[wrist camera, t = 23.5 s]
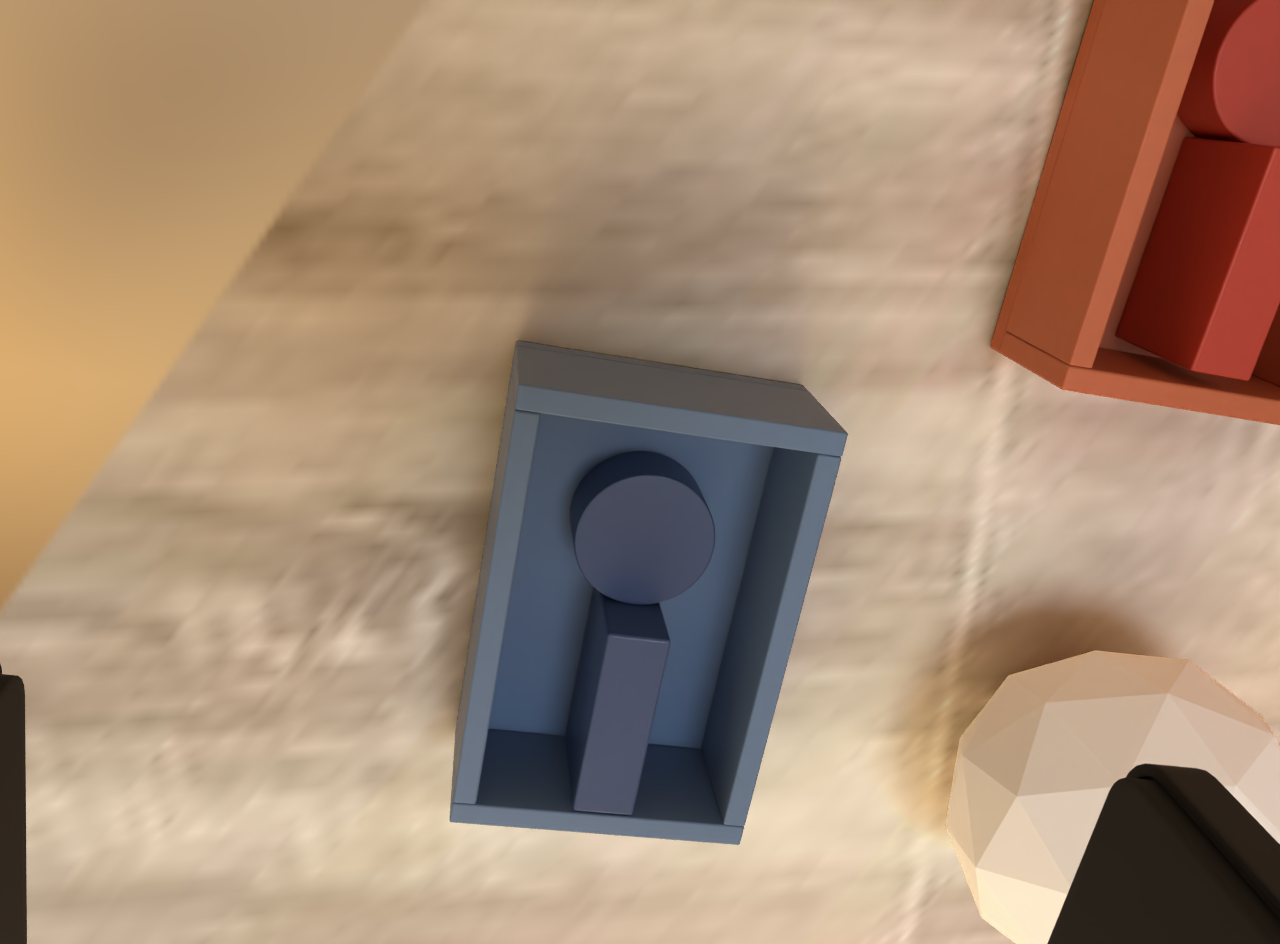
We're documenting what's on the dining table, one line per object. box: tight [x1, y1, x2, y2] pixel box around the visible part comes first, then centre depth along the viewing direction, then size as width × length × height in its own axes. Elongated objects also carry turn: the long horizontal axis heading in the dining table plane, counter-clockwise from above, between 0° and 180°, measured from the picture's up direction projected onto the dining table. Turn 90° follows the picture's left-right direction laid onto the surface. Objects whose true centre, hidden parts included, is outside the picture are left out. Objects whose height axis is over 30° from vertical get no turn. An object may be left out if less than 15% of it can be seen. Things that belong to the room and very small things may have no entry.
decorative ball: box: [945, 650, 1280, 944], centre depth 31 cm, size 9×10×12 cm
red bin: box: [991, 0, 1280, 425], centre depth 26 cm, size 12×8×4 cm, turn 169°
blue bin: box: [450, 341, 848, 845], centre depth 29 cm, size 12×8×4 cm, turn 169°
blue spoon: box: [566, 451, 715, 815], centre depth 29 cm, size 9×4×4 cm, turn 169°
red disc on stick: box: [1116, 0, 1280, 381], centre depth 26 cm, size 9×4×4 cm, turn 168°
